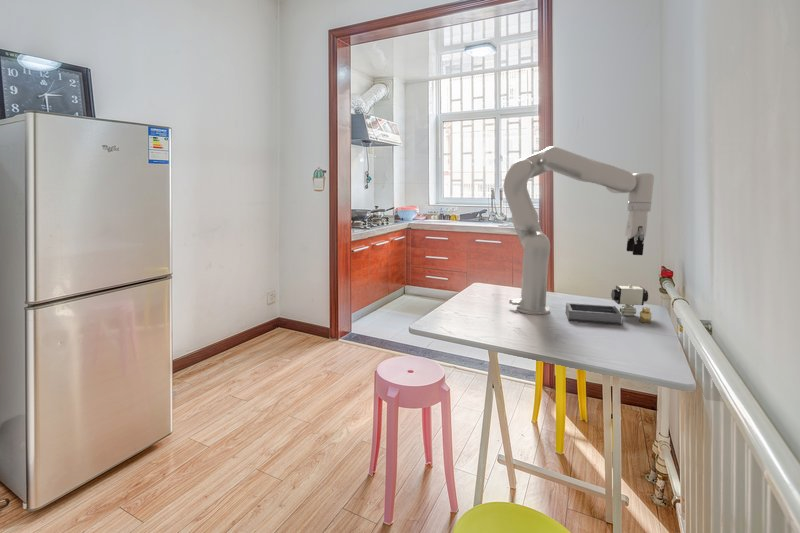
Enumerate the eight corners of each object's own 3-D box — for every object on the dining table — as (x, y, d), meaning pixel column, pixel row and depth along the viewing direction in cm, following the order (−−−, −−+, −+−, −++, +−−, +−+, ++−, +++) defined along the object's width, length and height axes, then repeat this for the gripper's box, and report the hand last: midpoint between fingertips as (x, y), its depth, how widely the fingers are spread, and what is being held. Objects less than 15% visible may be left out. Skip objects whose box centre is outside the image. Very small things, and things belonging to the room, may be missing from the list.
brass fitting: (640, 323, 152) (642, 309, 151) (638, 320, 155) (639, 306, 154) (651, 324, 151) (653, 310, 150) (648, 321, 154) (650, 307, 153)
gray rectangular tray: (568, 321, 154) (569, 310, 153) (565, 311, 166) (565, 301, 166) (620, 325, 149) (621, 314, 148) (613, 314, 162) (614, 304, 161)
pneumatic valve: (646, 317, 158) (649, 286, 156) (612, 315, 160) (615, 285, 158) (641, 313, 164) (644, 283, 161) (608, 311, 166) (611, 282, 164)
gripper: (622, 206, 164) (618, 249, 167) (633, 208, 147) (628, 256, 150) (644, 206, 162) (639, 250, 165) (657, 208, 145) (651, 257, 148)
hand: (634, 253), depth 157 cm, fingers open, 9 cm apart
